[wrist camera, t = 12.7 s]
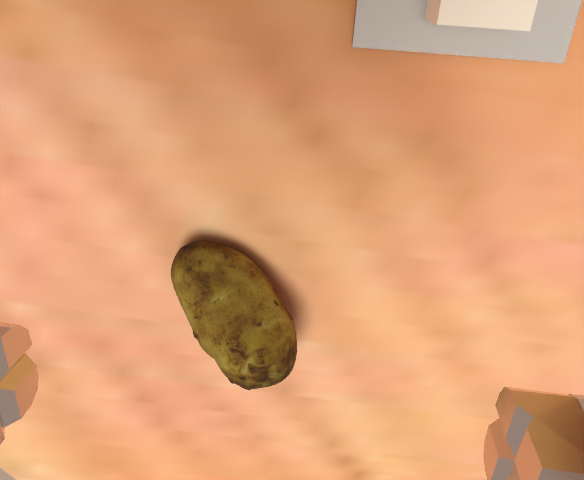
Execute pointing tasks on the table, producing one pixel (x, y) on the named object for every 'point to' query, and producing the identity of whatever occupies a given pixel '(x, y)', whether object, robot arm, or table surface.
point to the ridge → (469, 27)
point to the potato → (235, 314)
